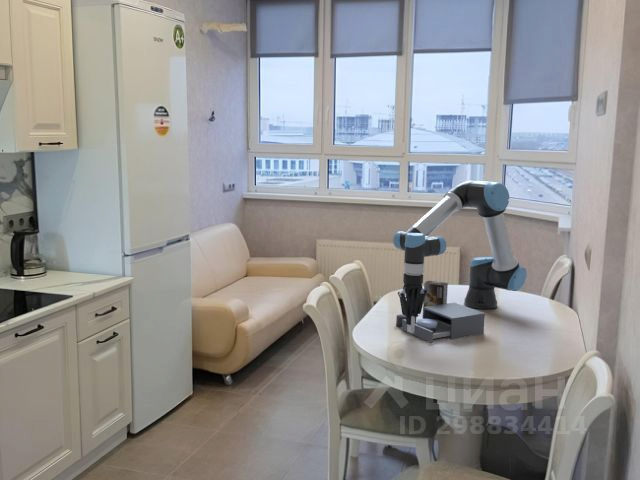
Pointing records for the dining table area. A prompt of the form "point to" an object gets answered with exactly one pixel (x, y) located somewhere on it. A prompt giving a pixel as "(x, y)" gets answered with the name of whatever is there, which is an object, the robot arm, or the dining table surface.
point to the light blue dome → (427, 323)
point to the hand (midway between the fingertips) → (410, 332)
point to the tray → (430, 330)
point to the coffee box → (435, 293)
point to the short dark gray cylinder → (400, 320)
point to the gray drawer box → (457, 319)
